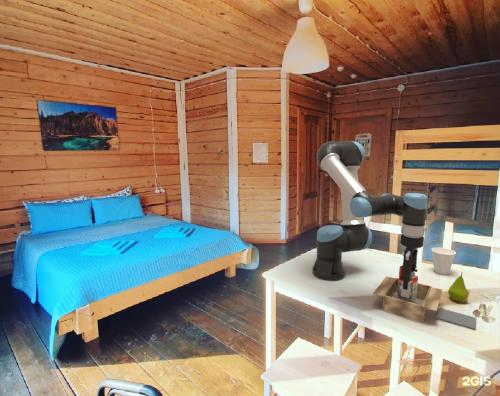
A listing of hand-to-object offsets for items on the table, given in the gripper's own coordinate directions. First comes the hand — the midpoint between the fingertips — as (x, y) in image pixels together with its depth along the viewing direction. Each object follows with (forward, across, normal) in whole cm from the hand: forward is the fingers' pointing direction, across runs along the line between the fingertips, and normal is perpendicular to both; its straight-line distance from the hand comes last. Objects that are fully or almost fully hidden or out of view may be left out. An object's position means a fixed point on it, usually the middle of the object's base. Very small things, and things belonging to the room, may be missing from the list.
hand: (407, 291), depth 111 cm
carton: (+5, 0, 0) cm, 5 cm away
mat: (+5, 0, -16) cm, 17 cm away
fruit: (+6, +16, -15) cm, 23 cm away
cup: (+6, +43, -7) cm, 44 cm away
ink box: (+4, 0, 0) cm, 4 cm away
